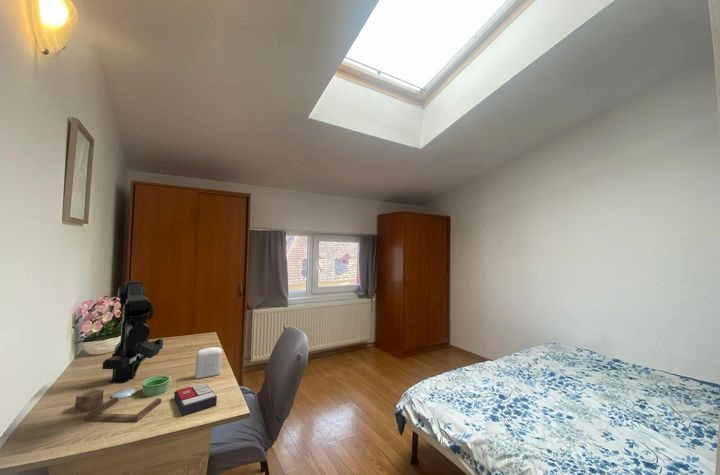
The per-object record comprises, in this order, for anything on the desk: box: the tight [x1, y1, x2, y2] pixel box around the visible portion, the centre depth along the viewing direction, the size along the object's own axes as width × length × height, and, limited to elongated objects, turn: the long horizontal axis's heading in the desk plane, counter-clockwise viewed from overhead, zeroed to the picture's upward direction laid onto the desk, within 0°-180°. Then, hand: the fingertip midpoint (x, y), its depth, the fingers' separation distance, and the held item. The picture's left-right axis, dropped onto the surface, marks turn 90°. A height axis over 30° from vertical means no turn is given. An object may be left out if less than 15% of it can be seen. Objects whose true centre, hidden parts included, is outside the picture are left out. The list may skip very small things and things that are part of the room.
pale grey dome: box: [110, 387, 136, 400], centre depth 107 cm, size 7×7×1 cm
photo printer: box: [194, 346, 223, 379], centre depth 126 cm, size 10×4×12 cm, turn 123°
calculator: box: [173, 382, 218, 417], centre depth 104 cm, size 11×4×15 cm
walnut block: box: [74, 388, 105, 413], centre depth 98 cm, size 5×5×5 cm
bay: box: [83, 397, 162, 423], centre depth 96 cm, size 17×12×2 cm
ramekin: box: [141, 375, 171, 397], centre depth 110 cm, size 9×9×4 cm
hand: (131, 379), depth 99 cm, fingers closed
